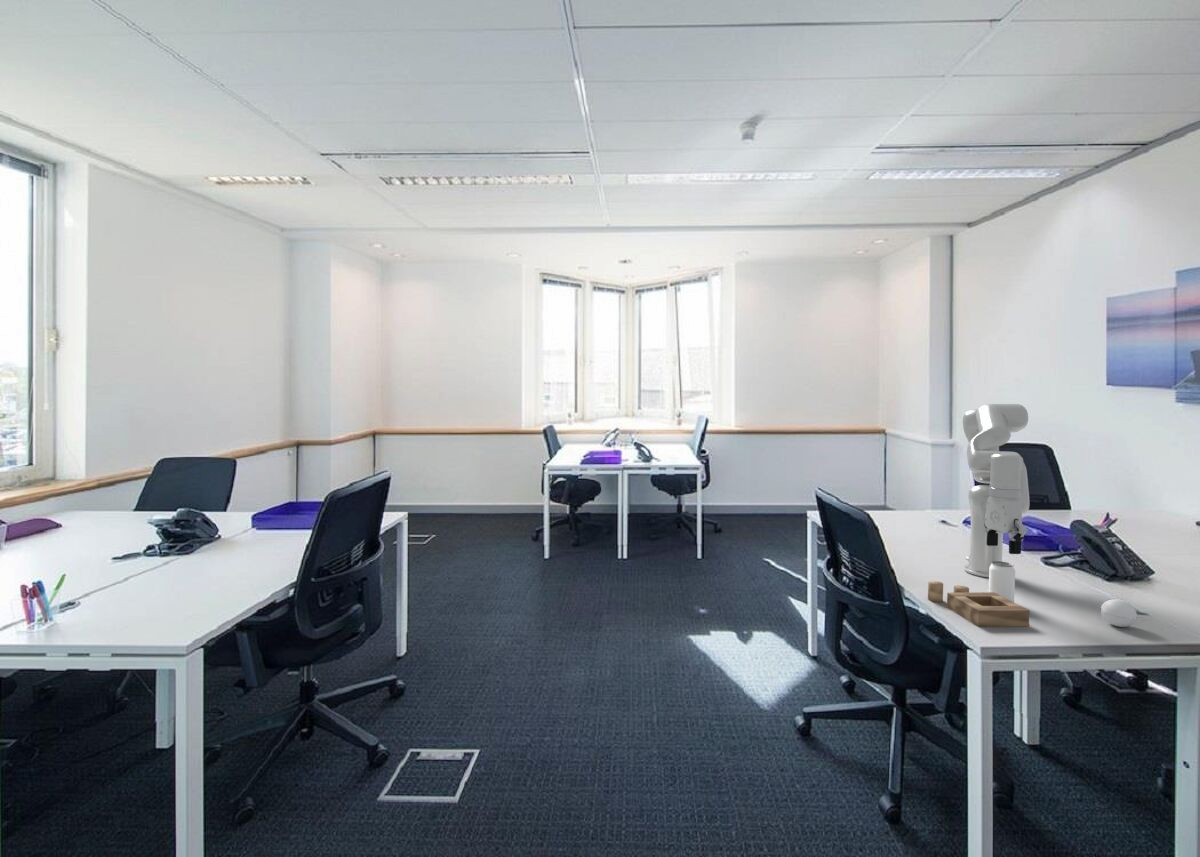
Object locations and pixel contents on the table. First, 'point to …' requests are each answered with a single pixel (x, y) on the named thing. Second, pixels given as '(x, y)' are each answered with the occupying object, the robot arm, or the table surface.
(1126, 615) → the white rounded egg-shaped part
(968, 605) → the wooden rectangular frame
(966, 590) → the peg short
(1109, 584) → the table surface
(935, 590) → the peg mid
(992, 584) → the can
